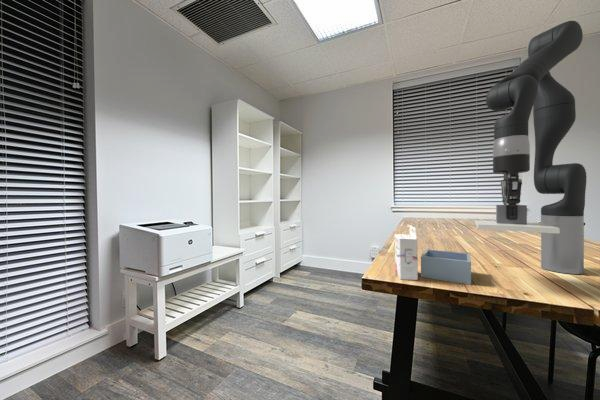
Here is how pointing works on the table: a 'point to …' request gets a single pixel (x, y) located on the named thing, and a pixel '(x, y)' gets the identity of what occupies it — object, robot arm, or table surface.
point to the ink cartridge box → (406, 255)
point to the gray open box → (446, 266)
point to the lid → (515, 222)
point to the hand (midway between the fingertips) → (510, 219)
